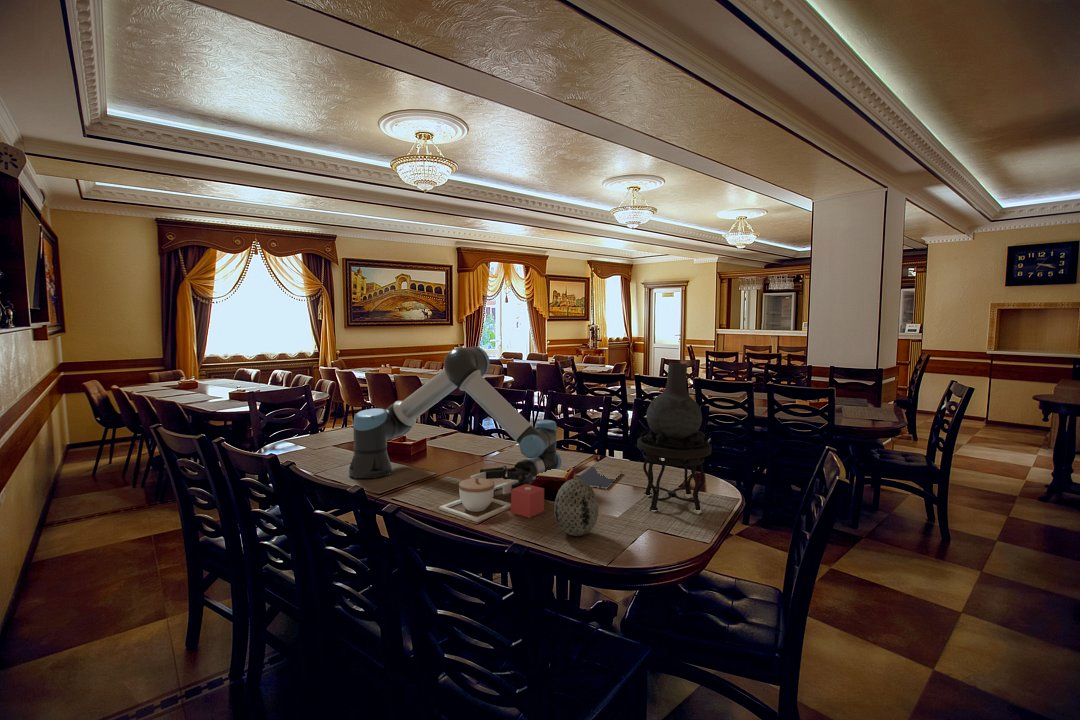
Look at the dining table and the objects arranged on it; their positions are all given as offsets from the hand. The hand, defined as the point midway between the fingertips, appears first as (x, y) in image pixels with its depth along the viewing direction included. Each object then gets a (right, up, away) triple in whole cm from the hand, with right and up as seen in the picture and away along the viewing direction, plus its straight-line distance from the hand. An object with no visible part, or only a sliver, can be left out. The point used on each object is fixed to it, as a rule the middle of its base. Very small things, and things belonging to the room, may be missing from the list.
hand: (486, 485), depth 154 cm
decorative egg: (+26, -8, -20) cm, 34 cm away
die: (+13, -7, -5) cm, 15 cm away
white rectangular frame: (+2, -6, +4) cm, 7 cm away
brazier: (+58, -7, +4) cm, 59 cm away
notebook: (+38, -6, +29) cm, 48 cm away
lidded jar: (-3, -7, -2) cm, 8 cm away
